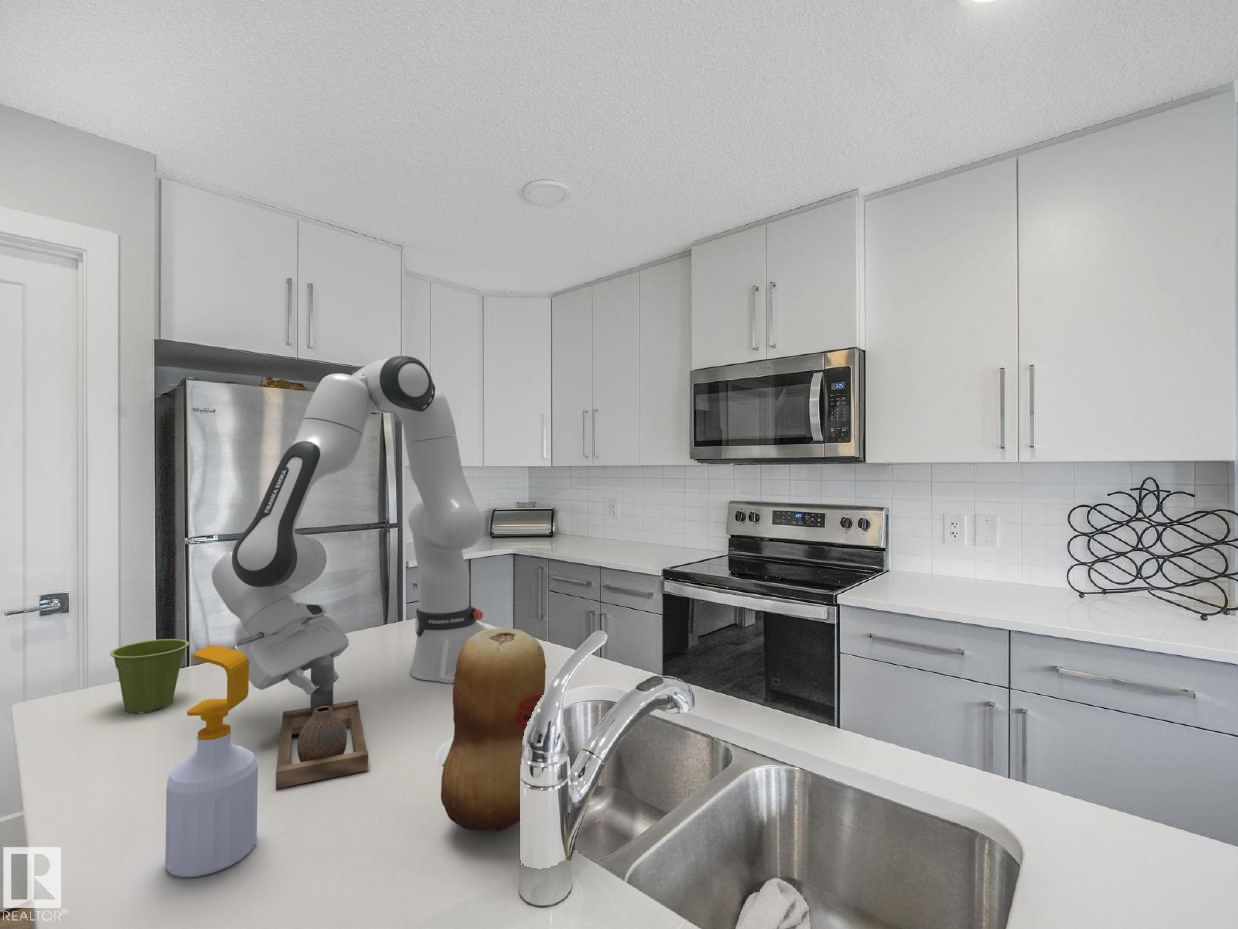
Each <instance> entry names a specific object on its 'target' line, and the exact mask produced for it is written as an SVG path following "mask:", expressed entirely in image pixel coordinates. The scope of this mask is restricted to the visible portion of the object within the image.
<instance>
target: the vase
mask: <svg viewBox="0 0 1238 929" xmlns="http://www.w3.org/2000/svg"><path fill="white" fill-rule="evenodd" d="M347 734H348V732H347V729H346V726H344V724H343V722H342V721H341V719H340V718H339V717H338V716H337V715H336V714H335V713H334V712H333V710H332V708H331V707H330V706H322V707H318V708H316V709H315V710H314V712H313V715H312V716H311V718H310V719H309V720H308V721H307V723H306V724H305V725H304V727H303V728H302V730H301V732H300V733H299V735H298V737H297V738H298V739H297V746H296V750H297V757H298V759H299V760H298V761H299V763H300V762H305V761H311V760H316V759H322V758H326V757H332V756H337V755H342V754H345V751H346V749H347V745H348V736H347Z"/></svg>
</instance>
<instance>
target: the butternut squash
mask: <svg viewBox="0 0 1238 929" xmlns="http://www.w3.org/2000/svg"><path fill="white" fill-rule="evenodd" d="M546 669H547V665H546V656H545V652H544V649H543V646H542V644H541V643H540V642H539V640H537V638H535V637H533V636H532V635H531V634H528V633H527V632H525V631H523V630H521V629H517V628H512V627H506V626H505V627H496V628H487V630H483V631H480V632H478V633H476V634H474V635H473V636H471V637H470V638H469V639H468V640H467V641H466V643H465V644H464V646H463V647H462V649H461V651H460V654H459V657H458V660H457V665H456V671H455V677H454V683H452V709H453V717H452V718H453V726H454V730H453V731H454V733H453V739H452V742H451V745H450V747H449V750H448V753H447V756H446V758H445V760H444V764H443V768H442V774H441V779H440V780H441V781H440V782H441V784H440V785H441V788H440V800H441V803H442V806H443V807H444V810H445V813H446V815H447V816H448V818H449V820H451V821H452V822H454V823H455V824H456V825H458V826H459V827H460V828H461V829H462V830H464V831H475V832H486V831H497V832H499V831H503V830H506V829H508V828H510V827H512V826H513V825H516V824H517V823H519V822H521V821H520V764H521V758H522V740H523V736H524V730H525V728H526V726H527V722H528V721H529V719H530V718H531V715H532V712H533V711H534V708H535V706H536V705H537V702H538V701H539V700H540V698H541V697H542V695H544V691H545V692H546Z"/></svg>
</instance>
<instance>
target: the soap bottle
mask: <svg viewBox="0 0 1238 929" xmlns="http://www.w3.org/2000/svg"><path fill="white" fill-rule="evenodd" d="M192 658H193V659H195V660H198V661H201V662H206V663H209V664H213V665H216V666H219V667H221V668H223V669H224V670H225V672H226V677H227V678H226V680H227V681H226V698H209V699H204V700H201V701H200V702H198V703H197V704H195V705H193V706H192V707H191V708H189V709H187V710H186V715H187V716H188V717H196V716H197V717H199V716H200V721H204V722H205V727H202V728H201V729H199V730H198V731H197V747H196V748H197V749H196V751H194V752H193V753H191V754H189V755H188V756H186V757H185V758H183V759H182V761H180V762H179V763H178V764H177V765H176V766H175V767H174V768H173V769H172V770H171V772H170V774H169V776H168V779H167V781H166V789H165V791H166V794H165V795H166V796H165V797H166V798H165V802H166V803H165V854H164V855H165V858H164V859H165V860H164V861H165V864H164V865H165V869H166V870H167V872H168V873H169V874H171V876H176V877H180V878H197V877H202V876H206V875H210V874H213V873H214V874H215V873H216V872H219V871H221V870H224V869H226V868H230V867H231V866H233V865H235V864H236V863H238V862H239V861H241V860H243V859H244V858H245V857H246V856H247V855H248V854H249V853H251V852H252V850H253V848H254V847H255V845H256V843H257V841H258V839H257V838H258V783H259V782H258V781H259V780H258V776H259V775H258V773H259V764H258V760H257V757H256V756H255V753H254V752H252V751H250V750H249V749H247V748H246V747H243V746H242V745H236V744H233V743H232V742H231V725H230V724H227V723H224V721H223V720H224V718H225V717H227V716H228V715H229V712H230V711H231V710H232V709H235V707H237V706H238V705H239V704H242V702H243V701H245V700H246V699H247V698H248V696H249V684H250V680H249V661H248V658H247V656H246V655H245V654H243V653H242V652H239V651H236V650H234V649H232V648H228V647H224V646H221V645H218V644H209V645H207V646H204V647H203V648H201V649H199V650H196V651H195V652H194V653H193V655H192Z"/></svg>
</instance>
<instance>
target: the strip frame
mask: <svg viewBox="0 0 1238 929" xmlns="http://www.w3.org/2000/svg"><path fill="white" fill-rule="evenodd" d="M334 661H335V659H334V658H333V657H319V658H316V659H313V660H311V668H310V680H313V679H315V680H316V682H317V684H319V689H318V690H317V691H316V692H314V693H312V694H311V695H310V698H309V699H310V701H309V702H310V704H309V705H310V706H309V707H303V708H297V709H291V710H284V711H283V712H282V719H281V720H282V721H281V727H280V729H281V730H280V736H279V737H280V738H279V746H278V755H277V763H276V764H277V765H276V769H275V789H276V790H277V789H283V788H285V787H290V786H295V785H302V784H306V783H311V782H316V781H321V780H325V779H331V778H335V777H336V778H337V777H340V776H345V775H350V774H355V773H360V772H364V771H368V770H369V752H368V749H367V745H366V738H365V733H364V729H363V728H364V727H363V723H362V717H361V712H360V708H359V707H360V706H359V700H358V699H357V700H350V701H344V702H337V703H334V683H333V674H334V670H335V669H334V668H335V662H334ZM322 706H330V707H331V708H332V710H333V712H334V713H335V714H336V715H337V716H338V717H339V718H340V719H341V721H342V722H343V724H344V726H345V727H346V726H349V729H350V736H351V744H352V749H353V752H349V753H344V754H342V755H337V756H332V757H326V758H322V759H316V760H311V761H305V762H300V761H299V762H296V763H291V758H292V756H291V755H292V745H293V744H292V743H293V735H298V734H299V735H300V732H301V730H302V728H303V727H304V725H305V724H306V723H307V721H308V720H309V719H310V718H311V716H312V715H313V712H314V710H315V709H316V708H318V707H322Z"/></svg>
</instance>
